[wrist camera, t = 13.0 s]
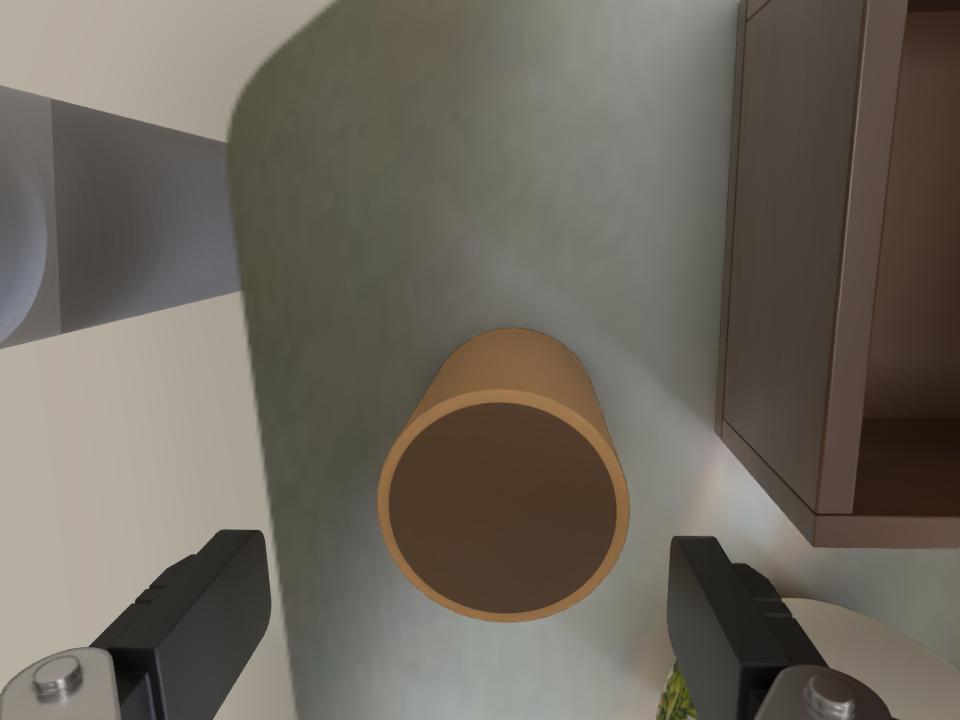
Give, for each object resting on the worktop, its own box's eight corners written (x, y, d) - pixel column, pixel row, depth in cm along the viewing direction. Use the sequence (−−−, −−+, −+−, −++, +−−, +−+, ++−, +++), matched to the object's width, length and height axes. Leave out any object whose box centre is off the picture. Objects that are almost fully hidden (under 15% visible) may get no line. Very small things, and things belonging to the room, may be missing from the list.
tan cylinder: (439, 317, 21) (385, 374, 14) (607, 338, 21) (651, 408, 13) (424, 472, 23) (367, 605, 15) (582, 495, 22) (608, 641, 15)
